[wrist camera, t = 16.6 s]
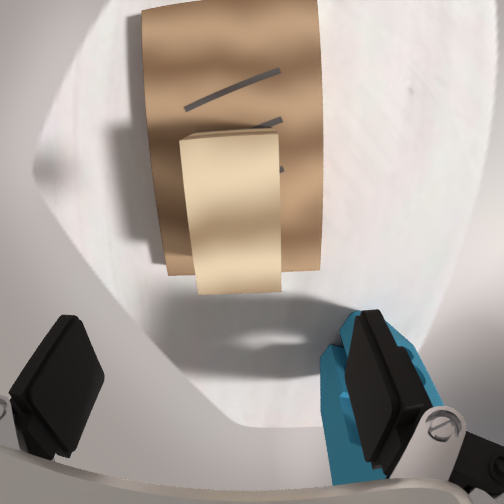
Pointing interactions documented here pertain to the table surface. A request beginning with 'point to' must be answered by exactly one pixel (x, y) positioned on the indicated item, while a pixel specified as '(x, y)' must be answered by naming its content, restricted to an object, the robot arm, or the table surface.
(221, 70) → the oak board
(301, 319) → the table surface
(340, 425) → the block
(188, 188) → the block
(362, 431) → the robot arm
